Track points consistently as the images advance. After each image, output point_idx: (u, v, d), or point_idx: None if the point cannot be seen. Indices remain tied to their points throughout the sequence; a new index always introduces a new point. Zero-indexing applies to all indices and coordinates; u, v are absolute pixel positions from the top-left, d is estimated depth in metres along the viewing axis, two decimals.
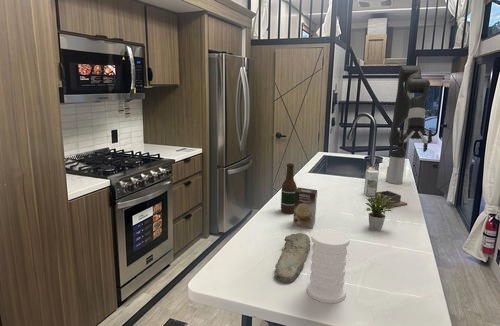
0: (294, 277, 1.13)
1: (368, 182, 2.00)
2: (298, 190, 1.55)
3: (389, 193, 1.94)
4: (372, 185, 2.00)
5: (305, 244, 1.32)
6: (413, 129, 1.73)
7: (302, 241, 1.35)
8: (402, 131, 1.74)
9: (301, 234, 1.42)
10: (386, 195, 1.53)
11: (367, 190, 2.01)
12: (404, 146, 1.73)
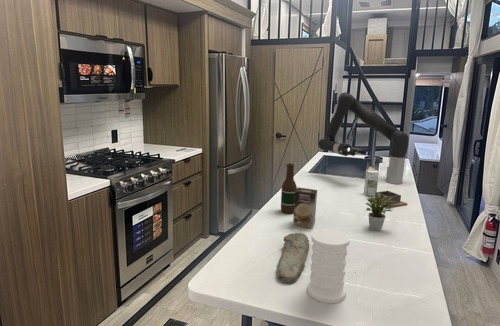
0: (296, 277, 1.13)
1: (368, 182, 2.00)
2: (298, 190, 1.55)
3: (389, 193, 1.94)
4: (372, 185, 2.00)
5: (304, 244, 1.32)
6: None
7: (301, 241, 1.36)
8: (357, 152, 2.20)
9: (299, 234, 1.42)
10: (386, 195, 1.53)
11: (367, 190, 2.01)
12: None
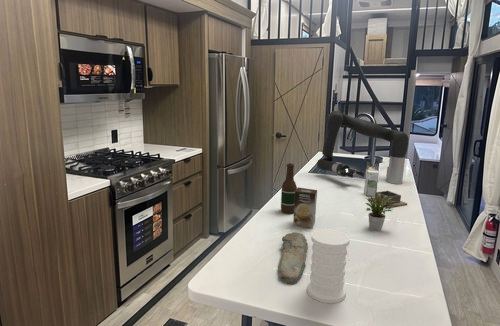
0: (299, 277, 1.13)
1: (368, 182, 2.00)
2: (298, 190, 1.55)
3: (389, 193, 1.94)
4: (372, 185, 2.00)
5: (303, 243, 1.33)
6: None
7: (299, 240, 1.36)
8: None
9: (296, 233, 1.42)
10: (386, 195, 1.53)
11: (367, 190, 2.01)
12: None
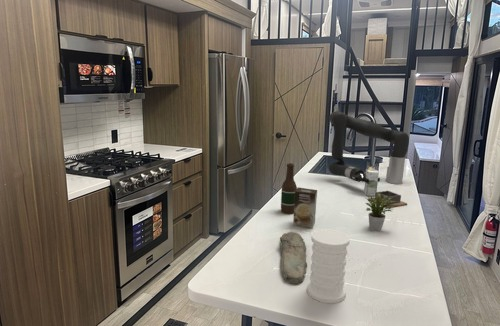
0: (303, 277, 1.13)
1: None
2: (298, 190, 1.55)
3: (389, 193, 1.94)
4: (372, 185, 2.00)
5: (301, 243, 1.33)
6: None
7: (296, 240, 1.36)
8: None
9: (292, 233, 1.43)
10: (386, 195, 1.53)
11: (367, 190, 2.01)
12: None
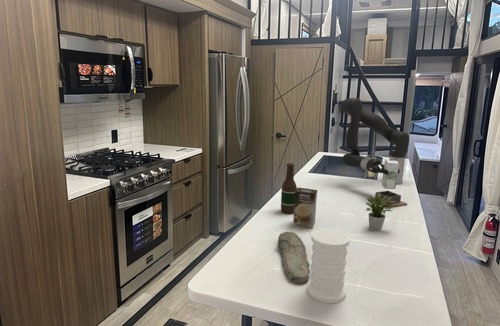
0: (308, 276, 1.14)
1: None
2: (298, 190, 1.55)
3: (389, 193, 1.94)
4: (391, 176, 1.85)
5: (299, 242, 1.34)
6: None
7: (294, 239, 1.37)
8: None
9: (289, 232, 1.43)
10: (386, 195, 1.53)
11: (386, 182, 1.86)
12: None
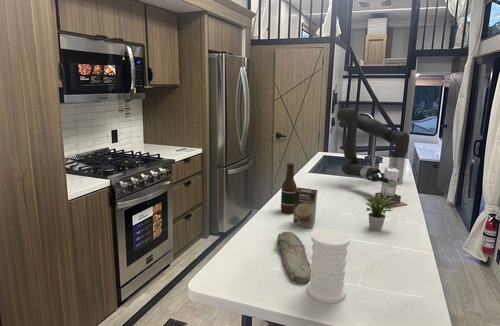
0: None
1: None
2: (298, 190, 1.55)
3: None
4: (391, 184, 1.86)
5: (299, 242, 1.34)
6: None
7: (293, 239, 1.37)
8: None
9: (287, 232, 1.43)
10: (386, 195, 1.53)
11: (385, 190, 1.87)
12: None
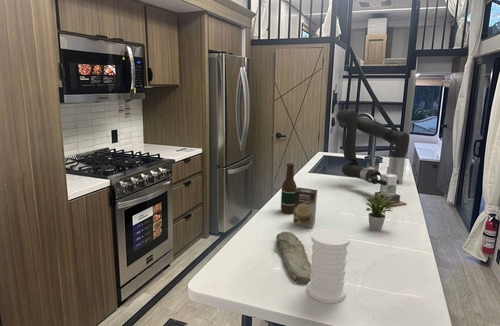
0: None
1: (388, 187, 1.86)
2: (298, 190, 1.55)
3: None
4: (391, 190, 1.87)
5: (298, 242, 1.34)
6: None
7: (292, 239, 1.37)
8: None
9: (286, 232, 1.43)
10: (386, 195, 1.53)
11: (387, 196, 1.87)
12: None
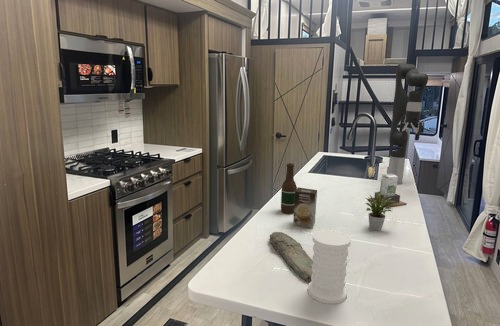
0: None
1: (388, 188, 1.86)
2: (298, 190, 1.55)
3: None
4: (391, 190, 1.87)
5: (294, 241, 1.35)
6: (409, 120, 2.00)
7: (287, 239, 1.37)
8: (401, 121, 2.04)
9: (277, 233, 1.43)
10: (386, 195, 1.53)
11: None
12: (402, 134, 2.05)
